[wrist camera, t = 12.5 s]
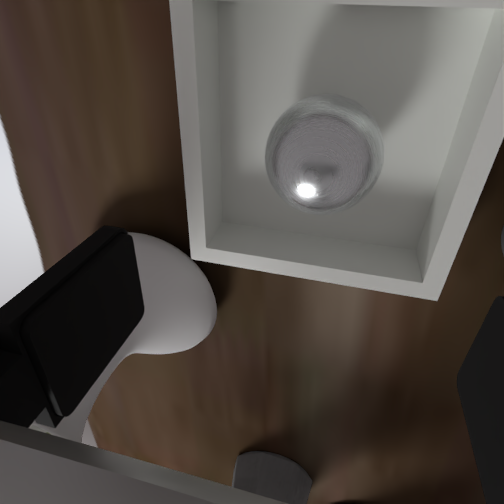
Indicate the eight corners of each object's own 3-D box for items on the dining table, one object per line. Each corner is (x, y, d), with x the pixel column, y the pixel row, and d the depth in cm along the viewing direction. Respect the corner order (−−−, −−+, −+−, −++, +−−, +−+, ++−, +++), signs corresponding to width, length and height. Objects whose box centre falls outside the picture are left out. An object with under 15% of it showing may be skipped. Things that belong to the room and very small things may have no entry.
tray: (427, 259, 23) (437, 301, 20) (212, 227, 26) (191, 259, 22) (526, -21, 15) (570, -27, 12) (202, -26, 18) (166, -32, 15)
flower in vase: (79, 208, 28) (-670, 752, 8) (224, 235, 26) (-266, 1056, 6) (108, 330, 35) (-234, 768, 15) (222, 358, 33) (6, 903, 13)
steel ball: (394, 88, 18) (401, 115, 13) (370, 194, 21) (370, 244, 16) (281, 80, 19) (253, 102, 14) (274, 182, 22) (249, 226, 17)
